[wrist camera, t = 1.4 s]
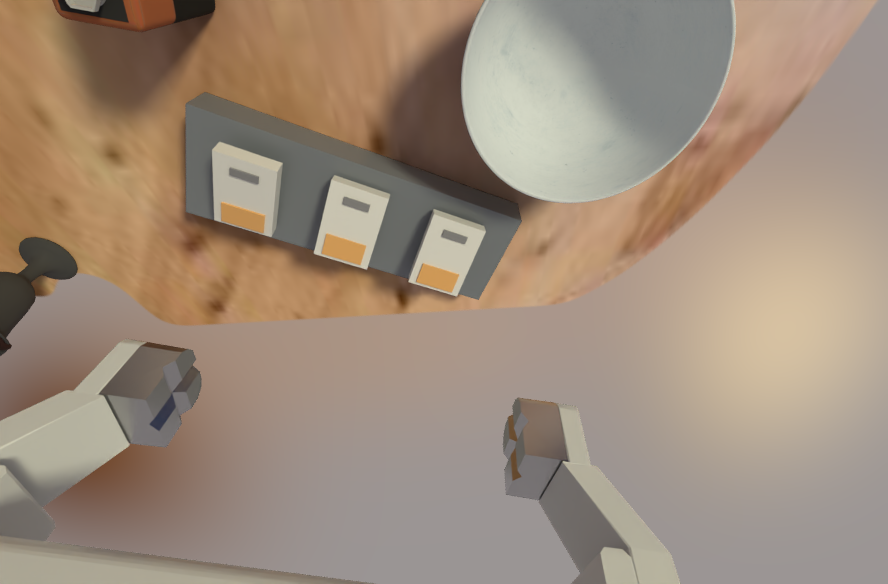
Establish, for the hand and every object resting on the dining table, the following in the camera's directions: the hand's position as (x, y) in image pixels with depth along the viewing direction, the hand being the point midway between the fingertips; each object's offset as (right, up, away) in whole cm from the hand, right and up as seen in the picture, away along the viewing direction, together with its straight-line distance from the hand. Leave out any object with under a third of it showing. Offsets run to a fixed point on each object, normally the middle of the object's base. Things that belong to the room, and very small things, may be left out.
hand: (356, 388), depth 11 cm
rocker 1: (-13, +10, +22) cm, 27 cm away
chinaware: (+11, +19, +20) cm, 30 cm away
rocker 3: (+2, +6, +25) cm, 26 cm away
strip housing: (-5, +11, +27) cm, 29 cm away
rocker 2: (-5, +8, +24) cm, 25 cm away
